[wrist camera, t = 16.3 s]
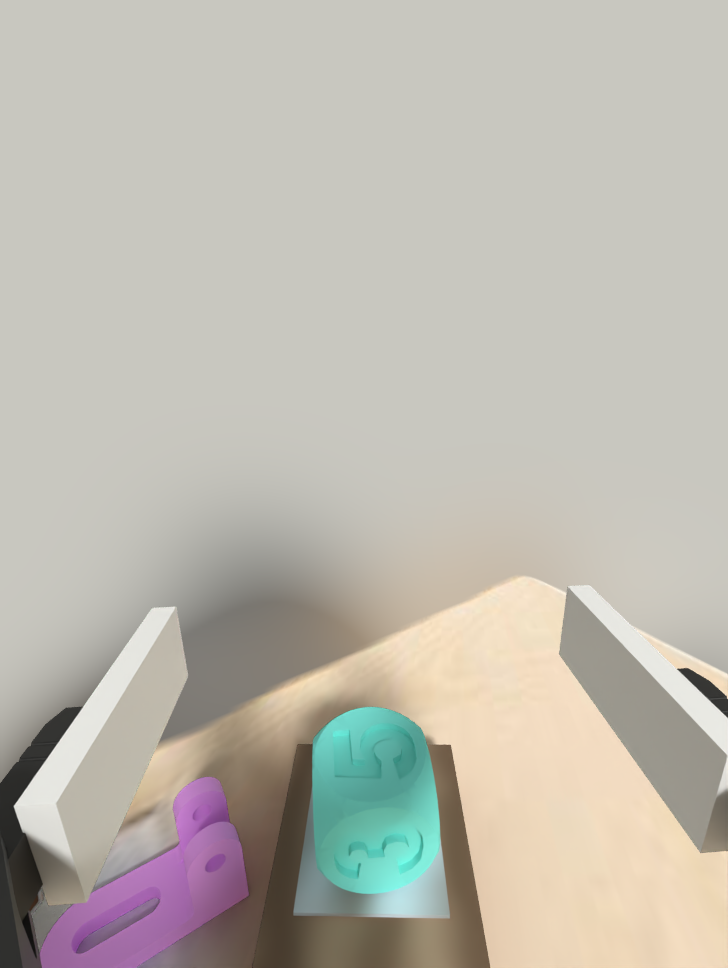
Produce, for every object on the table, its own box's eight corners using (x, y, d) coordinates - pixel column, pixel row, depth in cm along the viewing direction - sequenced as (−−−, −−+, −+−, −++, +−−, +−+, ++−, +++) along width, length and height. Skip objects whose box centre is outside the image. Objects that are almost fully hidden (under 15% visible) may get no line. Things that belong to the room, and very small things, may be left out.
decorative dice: (318, 788, 37) (312, 710, 35) (415, 777, 38) (415, 700, 35) (319, 903, 29) (311, 813, 27) (439, 887, 30) (442, 797, 28)
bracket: (229, 831, 38) (218, 768, 36) (249, 896, 34) (239, 829, 32) (45, 933, 32) (20, 864, 30) (40, 1029, 27) (10, 956, 25)
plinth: (257, 1018, 28) (249, 973, 26) (300, 777, 43) (297, 741, 41) (489, 1025, 27) (493, 979, 26) (449, 778, 42) (450, 742, 41)
